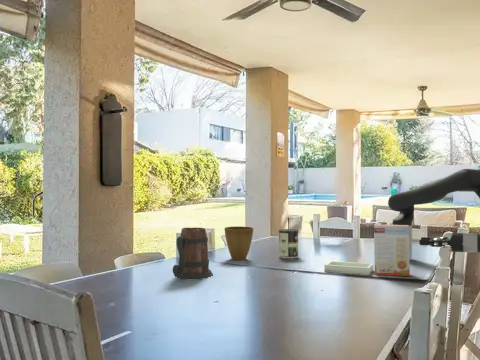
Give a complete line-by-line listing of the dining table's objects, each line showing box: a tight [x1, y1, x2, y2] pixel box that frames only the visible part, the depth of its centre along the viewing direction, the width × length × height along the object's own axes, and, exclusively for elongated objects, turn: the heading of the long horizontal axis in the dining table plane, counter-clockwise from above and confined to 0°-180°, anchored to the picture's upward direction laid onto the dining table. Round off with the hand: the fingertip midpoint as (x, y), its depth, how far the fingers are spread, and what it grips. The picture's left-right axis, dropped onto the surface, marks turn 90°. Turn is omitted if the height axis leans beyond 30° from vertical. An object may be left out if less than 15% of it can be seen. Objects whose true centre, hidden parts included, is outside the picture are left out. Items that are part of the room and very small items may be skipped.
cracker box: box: [373, 224, 411, 277], centre depth 195 cm, size 14×6×21 cm, turn 71°
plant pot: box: [223, 226, 254, 261], centre depth 236 cm, size 15×15×16 cm
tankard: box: [172, 227, 214, 280], centre depth 193 cm, size 24×17×20 cm
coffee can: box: [278, 228, 299, 259], centre depth 242 cm, size 10×10×14 cm
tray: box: [323, 260, 374, 276], centre depth 202 cm, size 11×19×3 cm, turn 65°
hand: (420, 241), depth 190 cm, fingers open, 8 cm apart
